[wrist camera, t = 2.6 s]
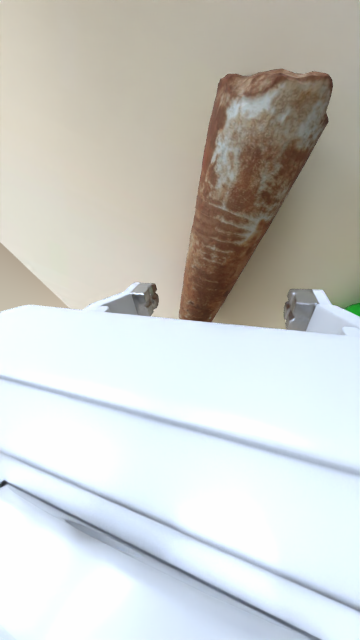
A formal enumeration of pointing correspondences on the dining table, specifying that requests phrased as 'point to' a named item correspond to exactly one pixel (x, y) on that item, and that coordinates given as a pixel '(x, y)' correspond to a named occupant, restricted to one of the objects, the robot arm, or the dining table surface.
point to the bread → (247, 175)
